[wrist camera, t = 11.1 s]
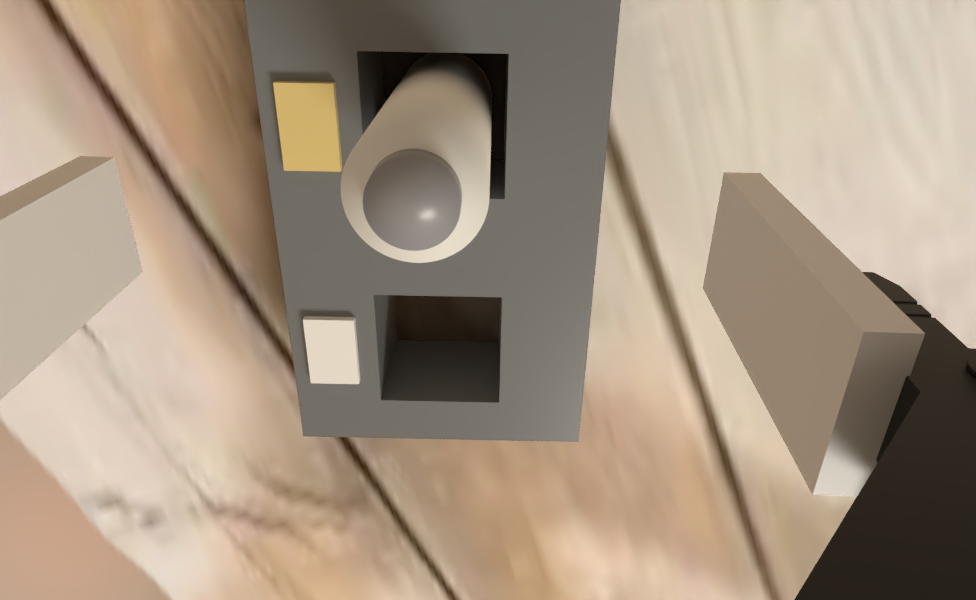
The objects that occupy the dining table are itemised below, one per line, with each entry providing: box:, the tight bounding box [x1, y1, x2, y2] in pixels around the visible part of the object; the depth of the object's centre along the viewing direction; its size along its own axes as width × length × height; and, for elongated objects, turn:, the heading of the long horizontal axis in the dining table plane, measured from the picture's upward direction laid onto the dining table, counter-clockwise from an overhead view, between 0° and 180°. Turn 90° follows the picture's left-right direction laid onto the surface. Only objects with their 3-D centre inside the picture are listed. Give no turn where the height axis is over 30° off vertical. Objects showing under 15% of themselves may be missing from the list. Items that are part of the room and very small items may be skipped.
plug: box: [341, 52, 492, 263], centre depth 22 cm, size 4×4×13 cm
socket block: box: [244, 0, 621, 442], centre depth 28 cm, size 12×18×5 cm, turn 179°
